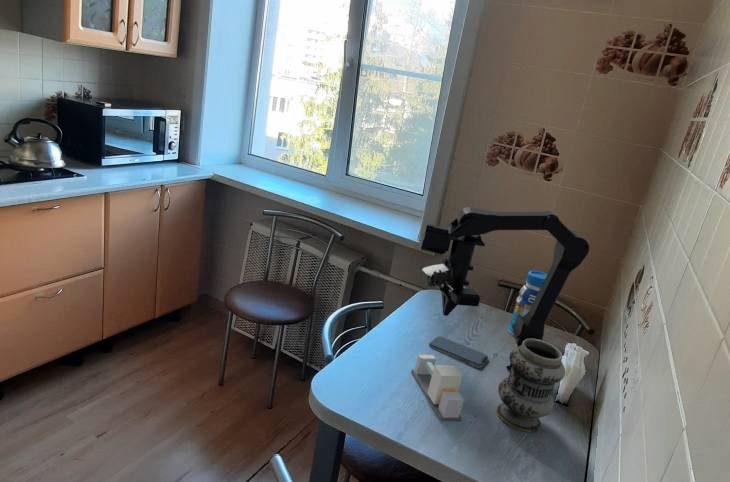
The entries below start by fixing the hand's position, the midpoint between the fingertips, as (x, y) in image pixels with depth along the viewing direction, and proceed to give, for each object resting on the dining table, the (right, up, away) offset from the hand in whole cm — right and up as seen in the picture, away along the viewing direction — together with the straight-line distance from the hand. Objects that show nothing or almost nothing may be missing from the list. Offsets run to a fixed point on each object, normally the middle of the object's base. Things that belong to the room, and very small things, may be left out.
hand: (445, 314), depth 133 cm
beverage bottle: (+27, -10, +27) cm, 40 cm away
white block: (-4, -16, -17) cm, 24 cm away
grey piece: (-5, -16, -14) cm, 22 cm away
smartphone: (+4, -12, +8) cm, 15 cm away
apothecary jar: (+14, -21, -16) cm, 30 cm away
